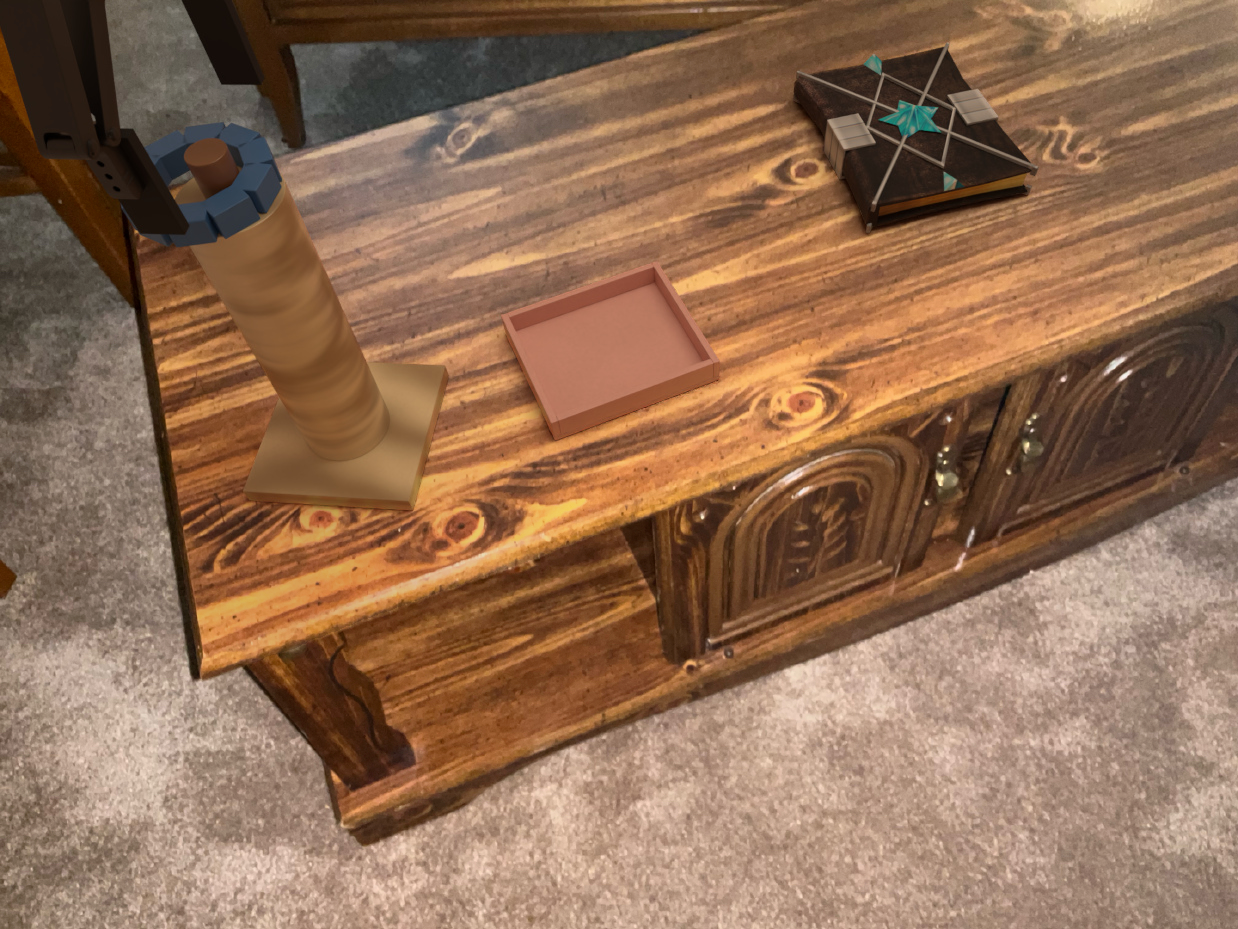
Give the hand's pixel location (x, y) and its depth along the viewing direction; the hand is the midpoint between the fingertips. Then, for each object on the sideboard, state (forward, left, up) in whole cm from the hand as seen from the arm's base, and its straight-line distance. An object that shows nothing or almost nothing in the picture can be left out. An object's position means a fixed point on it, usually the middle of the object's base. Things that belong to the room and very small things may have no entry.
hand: (206, 151), depth 58 cm
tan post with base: (0, 0, -29) cm, 29 cm away
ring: (0, +2, -3) cm, 4 cm away
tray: (+10, -21, -29) cm, 37 cm away
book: (+39, -48, -30) cm, 68 cm away
